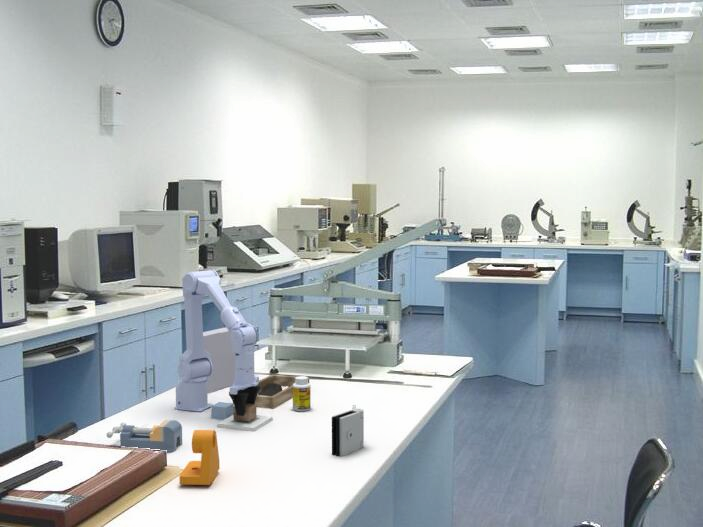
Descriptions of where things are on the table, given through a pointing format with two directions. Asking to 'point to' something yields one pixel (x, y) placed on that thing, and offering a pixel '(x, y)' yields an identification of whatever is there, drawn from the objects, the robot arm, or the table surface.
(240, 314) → the robot arm
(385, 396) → the table surface
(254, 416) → the walnut block
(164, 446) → the vise
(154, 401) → the table surface
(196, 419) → the table surface
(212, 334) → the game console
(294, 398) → the supplement bottle
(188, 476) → the bracket
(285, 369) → the table surface
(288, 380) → the plank frame
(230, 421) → the board
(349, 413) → the hinge
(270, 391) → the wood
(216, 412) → the blue block
